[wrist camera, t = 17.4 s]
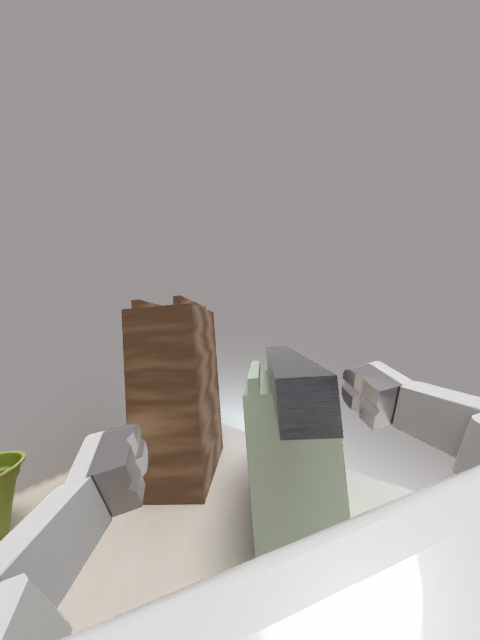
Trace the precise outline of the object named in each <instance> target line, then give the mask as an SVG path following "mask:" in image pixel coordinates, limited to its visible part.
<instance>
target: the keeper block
mask: <svg viewBox="0 0 480 640" xmlns="http://www.w3.org/2000/svg"><path fill="white" fill-rule="evenodd" d="M243 408H244V421H245V434H246V447H247V460H248V473H249V486H250V500H251V513H252V526H253V539H254V552H255V558H256V557H259V556H261V555H264V554H266V553H268V552H271V551H273V550H276V549H278V548H280V547H283V546H285V545H288V544H290V543H292V542H295V541H297V540H300V539H302V538H304V537H307V536H309V535H312V534H314V533H316V532H319V531H321V530H324V529H326V528H328V527H331V526H333V525H336V524H338V523H340V522H343V521H345V520H348V519H350V512H349V502H348V492H347V482H346V473H345V463H344V453H343V444H342V438H339V439H308V440H280V436H279V430H278V424H277V419H276V413H275V407H274V401H273V396H272V390H271V384H270V379H269V373H268V370H263V371H260V362H259V361H252V364H251V367H250V370H249V374H248V377H247V382H246V385H245V389H244V392H243Z"/></svg>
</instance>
